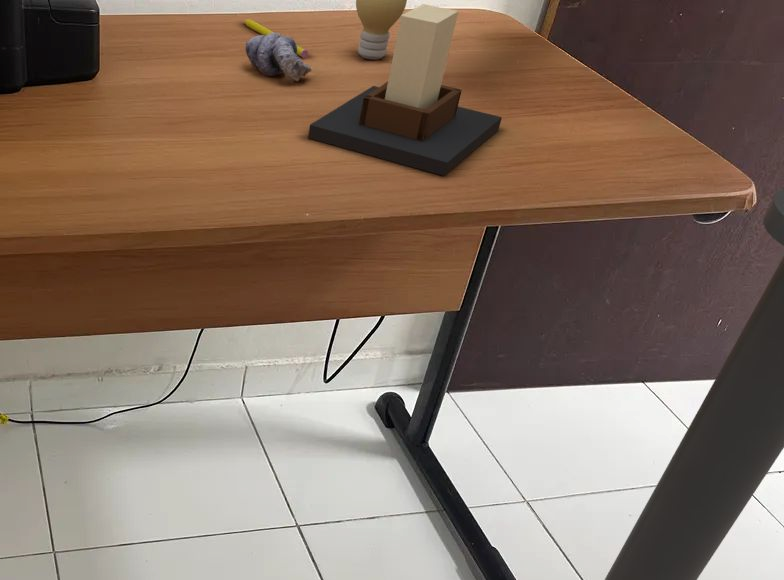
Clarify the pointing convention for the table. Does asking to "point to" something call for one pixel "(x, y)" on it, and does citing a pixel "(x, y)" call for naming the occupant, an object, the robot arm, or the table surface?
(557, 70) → the table surface
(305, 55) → the pencil
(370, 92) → the square socket base
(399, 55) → the cream rectangular block
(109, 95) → the table surface
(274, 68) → the grey knotted piece
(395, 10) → the light bulb
